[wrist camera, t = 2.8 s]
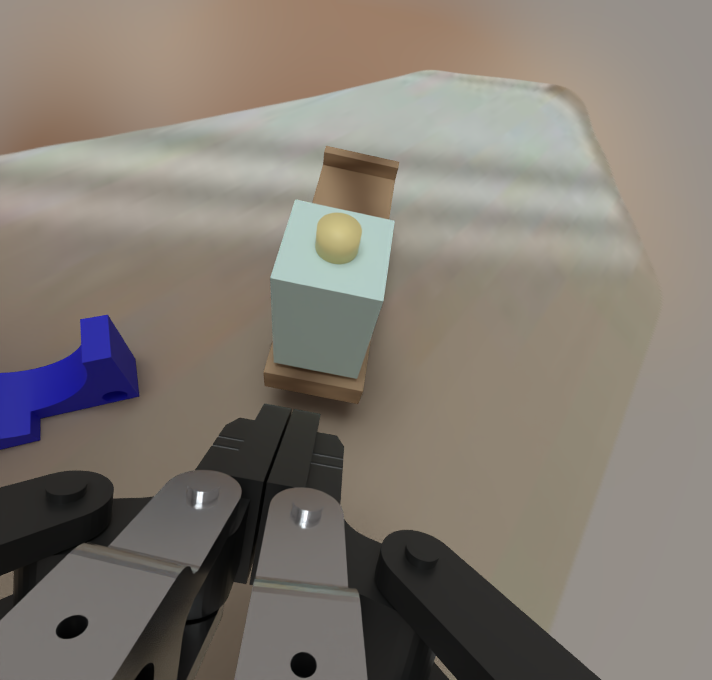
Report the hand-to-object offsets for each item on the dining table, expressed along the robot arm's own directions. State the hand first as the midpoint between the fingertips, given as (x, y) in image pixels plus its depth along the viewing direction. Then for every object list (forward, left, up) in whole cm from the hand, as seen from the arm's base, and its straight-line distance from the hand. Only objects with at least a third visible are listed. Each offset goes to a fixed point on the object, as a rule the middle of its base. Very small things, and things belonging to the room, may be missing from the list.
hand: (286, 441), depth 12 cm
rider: (0, +11, -12) cm, 16 cm away
